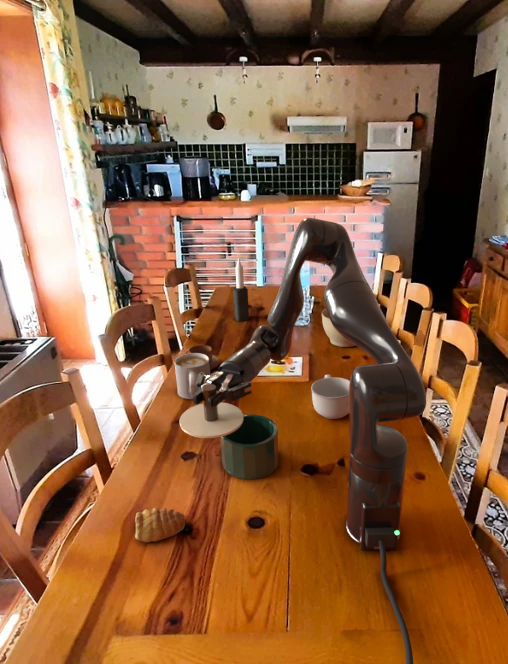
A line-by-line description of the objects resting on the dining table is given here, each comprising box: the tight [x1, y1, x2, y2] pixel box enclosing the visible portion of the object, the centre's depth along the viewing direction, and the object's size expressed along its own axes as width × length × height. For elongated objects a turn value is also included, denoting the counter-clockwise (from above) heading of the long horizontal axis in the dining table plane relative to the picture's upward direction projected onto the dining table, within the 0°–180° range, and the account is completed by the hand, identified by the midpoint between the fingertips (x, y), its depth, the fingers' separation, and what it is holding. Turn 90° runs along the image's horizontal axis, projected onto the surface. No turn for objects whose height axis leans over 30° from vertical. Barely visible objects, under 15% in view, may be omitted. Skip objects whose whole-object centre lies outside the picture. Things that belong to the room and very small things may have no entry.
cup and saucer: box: [185, 344, 221, 371], centre depth 156 cm, size 12×12×6 cm
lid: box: [179, 384, 244, 439], centre depth 103 cm, size 14×14×9 cm
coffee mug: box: [174, 352, 211, 400], centre depth 139 cm, size 13×10×10 cm
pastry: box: [134, 507, 186, 543], centre depth 91 cm, size 9×7×4 cm
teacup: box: [310, 374, 350, 420], centre depth 126 cm, size 14×11×8 cm
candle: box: [232, 258, 250, 322], centre depth 192 cm, size 5×5×25 cm
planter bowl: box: [321, 308, 356, 348], centre depth 167 cm, size 16×16×11 cm
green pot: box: [219, 413, 279, 480], centre depth 108 cm, size 13×13×8 cm
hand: (202, 402), depth 100 cm, fingers closed on lid, 3 cm apart
